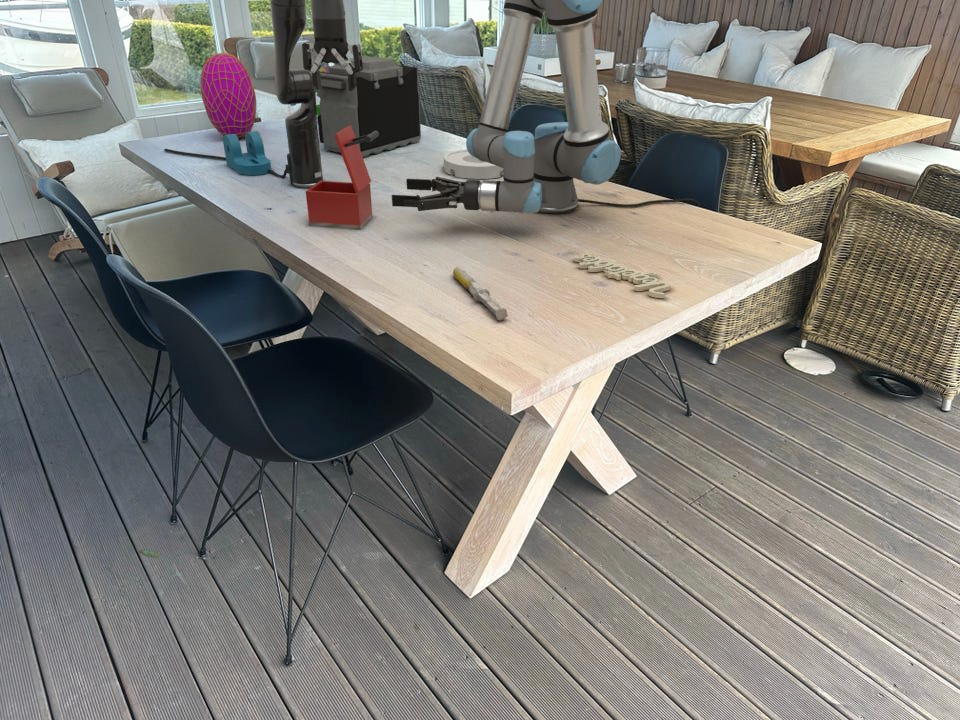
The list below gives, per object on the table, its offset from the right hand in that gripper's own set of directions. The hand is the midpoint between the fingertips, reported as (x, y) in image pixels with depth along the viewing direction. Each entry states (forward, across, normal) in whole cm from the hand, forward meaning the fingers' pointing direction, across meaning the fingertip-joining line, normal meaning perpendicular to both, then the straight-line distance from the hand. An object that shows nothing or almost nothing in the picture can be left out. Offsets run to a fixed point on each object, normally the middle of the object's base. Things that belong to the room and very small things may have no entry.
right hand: (399, 191), depth 178 cm
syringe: (-28, -39, -9) cm, 49 cm away
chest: (+17, 0, -9) cm, 19 cm away
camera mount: (+65, +44, -9) cm, 79 cm away
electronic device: (+36, +83, -10) cm, 91 cm away
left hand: (+15, +1, +24) cm, 29 cm away
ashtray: (-10, +59, -11) cm, 61 cm away
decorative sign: (-58, -21, -10) cm, 63 cm away
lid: (+12, +1, +8) cm, 15 cm away
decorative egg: (+91, +84, -9) cm, 124 cm away
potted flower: (+68, +119, -10) cm, 137 cm away
